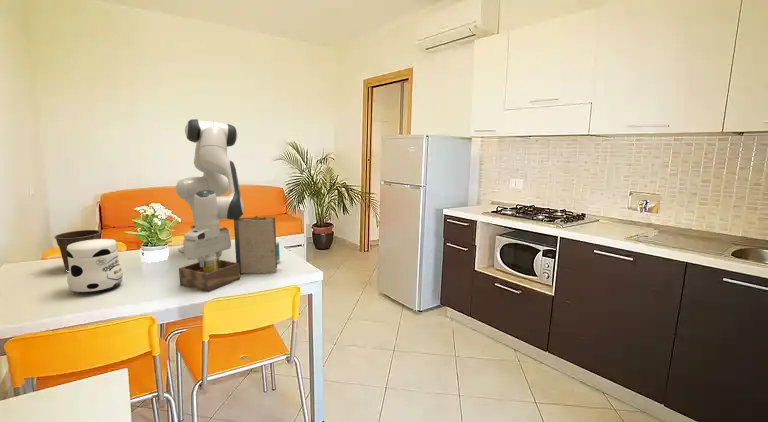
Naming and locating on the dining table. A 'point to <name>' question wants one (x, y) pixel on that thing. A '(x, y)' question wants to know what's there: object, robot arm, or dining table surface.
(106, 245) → the milk container
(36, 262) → the dining table surface
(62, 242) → the plant pot
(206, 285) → the walled box
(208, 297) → the dining table surface
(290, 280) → the dining table surface
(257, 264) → the book
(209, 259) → the supplement bottle
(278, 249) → the pill bottle
